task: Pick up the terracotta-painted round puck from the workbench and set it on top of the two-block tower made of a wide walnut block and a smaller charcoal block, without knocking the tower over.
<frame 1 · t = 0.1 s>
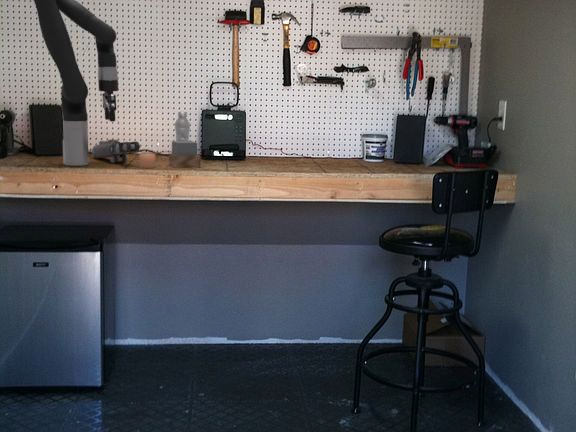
hand: (110, 120, 301), 17 cm above the workbench, tool pointing down, fingers open, 8 cm apart
puck: (147, 167, 297), on the workbench
grey figurine: (182, 159, 326), on the workbench
tower base: (184, 167, 303), on the workbench, touching tower top
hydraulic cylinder: (113, 162, 311), on the workbench
tower top: (184, 154, 302), point 5 cm above the workbench, touching tower base
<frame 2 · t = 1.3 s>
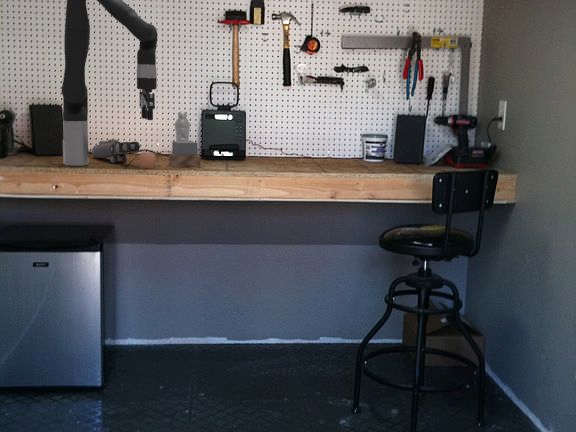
hand: (147, 119, 294), 19 cm above the workbench, tool pointing down, fingers open, 8 cm apart
nothing on the workbench moved.
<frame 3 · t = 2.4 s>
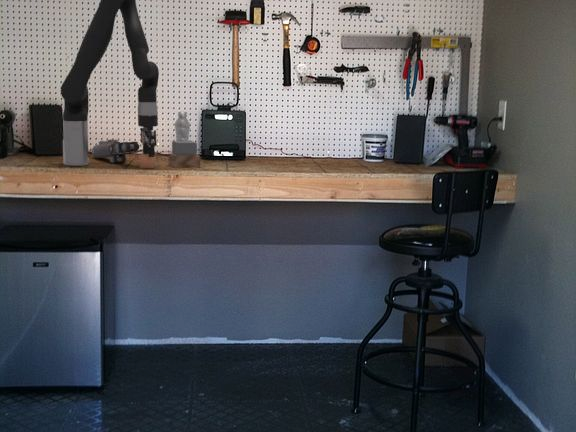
hand: (148, 155, 297), 4 cm above the workbench, tool pointing down, fingers open, 8 cm apart
nothing on the workbench moved.
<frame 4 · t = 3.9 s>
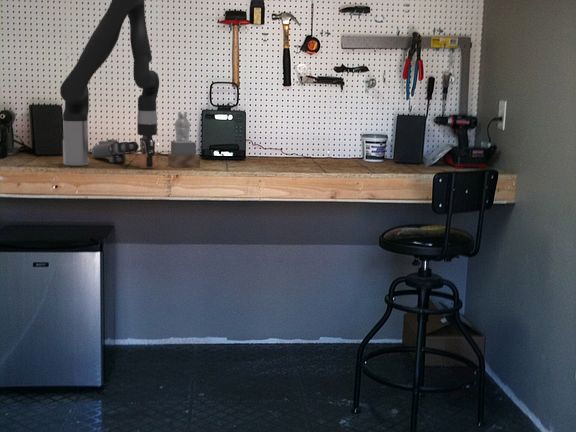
hand: (147, 165, 297), 1 cm above the workbench, tool pointing down, fingers closed on puck, 6 cm apart
puck: (147, 167, 297), on the workbench, touching gripper
everything else where it was.
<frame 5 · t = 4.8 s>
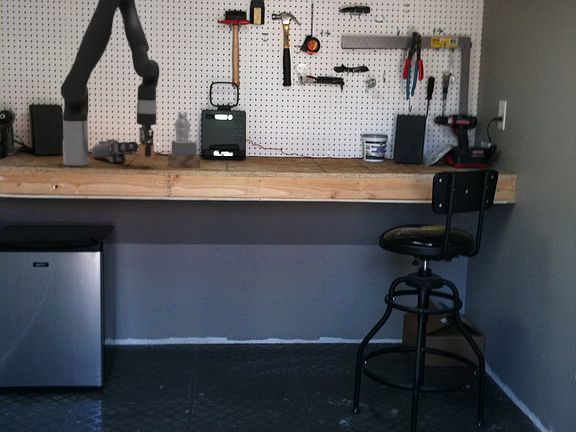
hand: (145, 155, 296), 5 cm above the workbench, tool pointing down, fingers closed on puck, 6 cm apart
puck: (145, 157, 296), point 4 cm above the workbench, touching gripper
everything else where it was.
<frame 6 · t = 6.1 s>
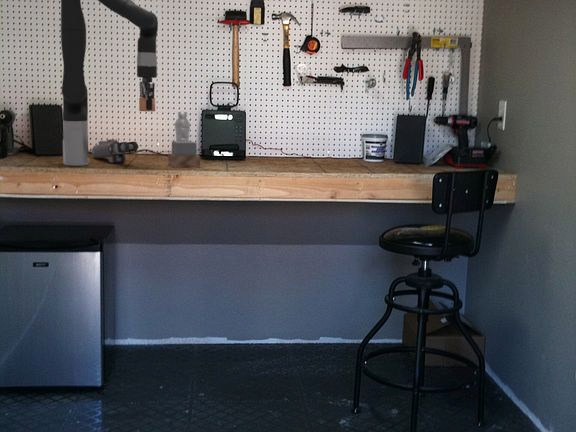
hand: (147, 109, 293), 22 cm above the workbench, tool pointing down, fingers closed on puck, 6 cm apart
puck: (147, 110, 293), point 22 cm above the workbench, touching gripper
everything else where it was.
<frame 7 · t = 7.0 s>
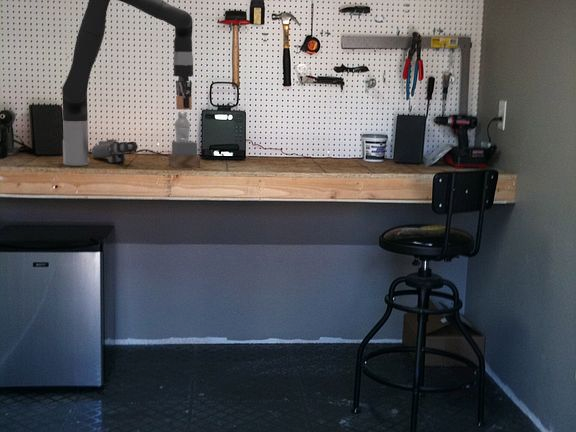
hand: (184, 107, 299), 23 cm above the workbench, tool pointing down, fingers closed on puck, 6 cm apart
puck: (184, 109, 299), point 23 cm above the workbench, touching gripper
everything else where it was.
when the fingers open (12 cm above the workbench, at t = 9.5 s): puck drops 2 cm, resting on tower top.
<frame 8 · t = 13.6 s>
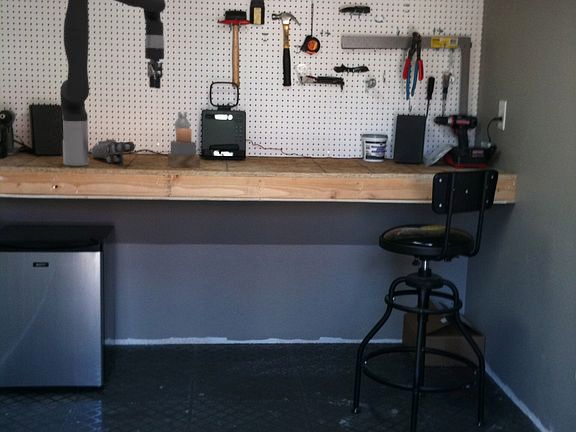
hand: (154, 88, 308), 30 cm above the workbench, tool pointing down, fingers open, 8 cm apart
puck: (183, 141, 301), point 10 cm above the workbench, touching tower top
tower top: (183, 154, 302), point 5 cm above the workbench, touching puck, tower base
at the end: puck 0.2 cm off-centre on the tower top, point 5.0 cm above the tower top's base; tower top 0.3 cm off-centre on the tower base, point 5.0 cm above the tower base's base; puck tilted 0° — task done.
